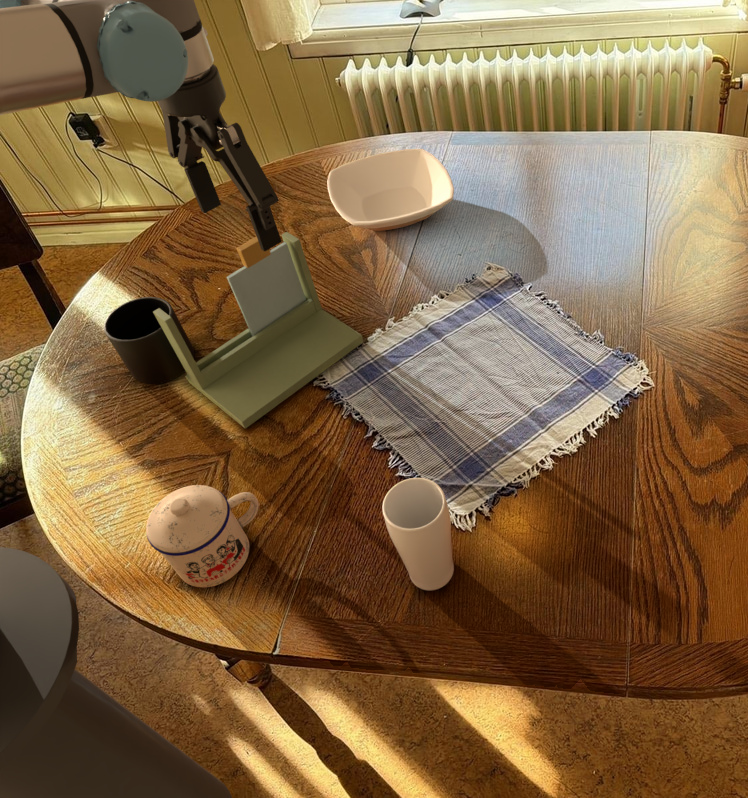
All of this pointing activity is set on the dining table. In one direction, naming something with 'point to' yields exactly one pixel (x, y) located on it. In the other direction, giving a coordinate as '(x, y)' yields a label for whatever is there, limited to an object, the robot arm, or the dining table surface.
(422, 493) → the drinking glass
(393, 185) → the bowl
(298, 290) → the panel
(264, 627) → the dining table surface
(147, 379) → the mug
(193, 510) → the teacup with lid
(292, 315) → the window frame
